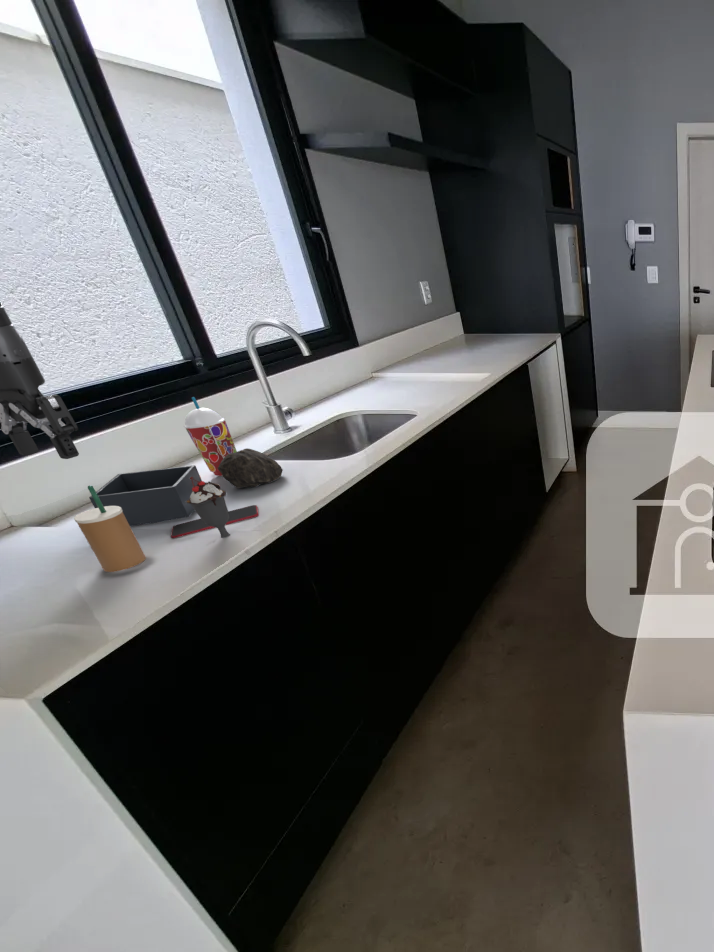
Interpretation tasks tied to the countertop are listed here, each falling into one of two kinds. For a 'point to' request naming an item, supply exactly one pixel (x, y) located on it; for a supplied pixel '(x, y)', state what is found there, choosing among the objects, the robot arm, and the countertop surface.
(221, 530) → the sundae
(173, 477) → the bin
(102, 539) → the takeaway cup
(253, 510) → the smartphone
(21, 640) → the countertop surface
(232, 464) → the rock
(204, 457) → the smoothie
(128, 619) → the countertop surface
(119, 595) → the countertop surface
